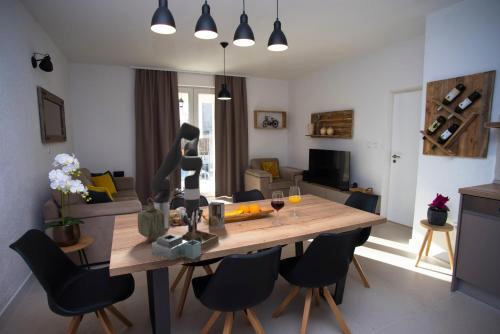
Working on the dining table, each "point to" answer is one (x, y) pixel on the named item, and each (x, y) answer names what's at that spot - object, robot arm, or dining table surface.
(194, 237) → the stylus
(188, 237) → the seashell
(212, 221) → the coffee box
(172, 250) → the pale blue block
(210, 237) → the frame
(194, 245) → the pen cup
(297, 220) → the dining table surface
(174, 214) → the food tray
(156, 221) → the green backpack
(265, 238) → the dining table surface
